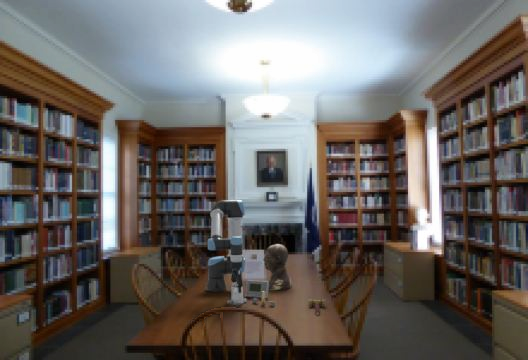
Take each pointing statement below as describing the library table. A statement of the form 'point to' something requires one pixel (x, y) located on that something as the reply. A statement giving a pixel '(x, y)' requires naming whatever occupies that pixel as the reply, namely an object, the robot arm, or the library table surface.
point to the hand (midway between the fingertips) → (236, 295)
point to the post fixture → (263, 299)
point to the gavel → (316, 305)
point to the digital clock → (256, 288)
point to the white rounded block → (235, 296)
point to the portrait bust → (277, 267)
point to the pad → (237, 304)
